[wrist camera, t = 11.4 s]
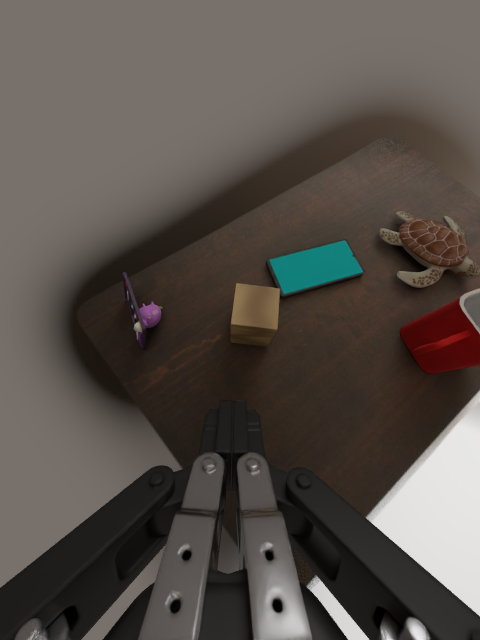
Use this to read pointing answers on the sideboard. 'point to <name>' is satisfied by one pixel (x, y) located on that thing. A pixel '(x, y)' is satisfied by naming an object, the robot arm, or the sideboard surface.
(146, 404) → the sideboard surface
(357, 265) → the smartphone
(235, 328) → the beech block
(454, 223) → the decorative turtle
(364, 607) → the robot arm
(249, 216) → the sideboard surface
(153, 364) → the sideboard surface
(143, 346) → the purple figure in frame
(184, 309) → the sideboard surface
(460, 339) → the mug
